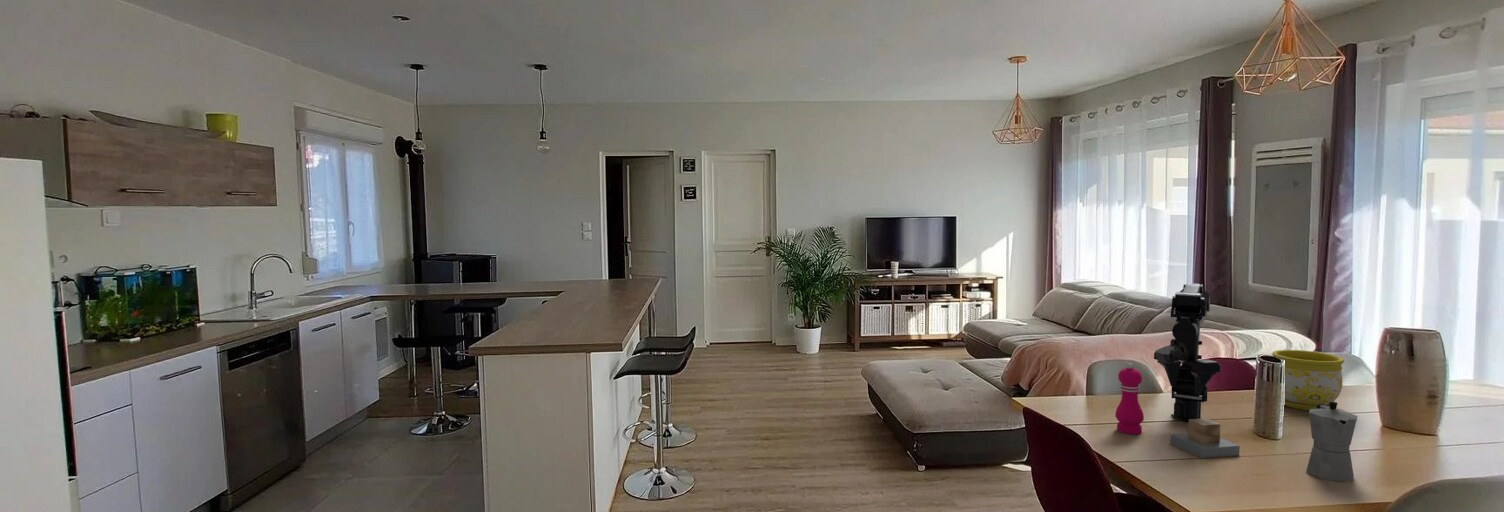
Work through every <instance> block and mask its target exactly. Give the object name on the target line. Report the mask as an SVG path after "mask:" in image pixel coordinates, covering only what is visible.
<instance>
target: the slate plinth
mask: <svg viewBox="0 0 1504 512" xmlns="http://www.w3.org/2000/svg"><path fill="white" fill-rule="evenodd" d="M1169 439H1170V440H1169V444H1170V445H1172V446H1175V447H1176V448H1179V449H1181V450H1183V451H1184V452H1188V453H1190V454H1191V455H1194V456H1197V457H1199V458H1201V459H1205V458H1206V459H1207V458H1219V457H1221V458H1222V457H1230V456H1231V457H1232V456H1233V457H1234V456H1240V451H1241V450H1240V448H1241V447H1240V445H1239V444H1236V443H1233V442H1232V441H1229V440H1226V439H1223V438H1221V437H1220V443H1207V444H1202V443H1200V442H1197V441H1195V440H1193V439H1190V438H1188V433H1176V434H1170V435H1169Z"/></svg>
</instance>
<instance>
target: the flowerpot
mask: <svg viewBox="0 0 1504 512" xmlns="http://www.w3.org/2000/svg"><path fill="white" fill-rule="evenodd" d="M1271 354H1272V357H1273V356H1274V357H1278V358H1282V359H1284V360H1285V405H1284V406H1285V407H1289V408H1293V409H1297V410H1302V411H1310V409H1316V407H1317V405H1318V404H1324V405H1325V406H1328V407H1329V409H1330V404H1329V402H1332V401H1333V402H1336V400H1337V399H1338V397H1339V396H1340V394H1341V393H1342V389H1343V373H1342V369H1343V367H1342V365H1343V364H1344V363H1345V359H1344V358H1343V357H1341V356H1338V355H1336V354H1331V353H1325V352H1320V351H1313V350H1312V351H1310V350H1299V349H1281V350H1275V351H1272V353H1271ZM1274 357H1273V358H1274Z"/></svg>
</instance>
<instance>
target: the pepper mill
mask: <svg viewBox="0 0 1504 512" xmlns="http://www.w3.org/2000/svg"><path fill="white" fill-rule="evenodd" d="M1134 366H1135V365H1134V364H1133V363H1131V362H1129V363H1126V367H1125V368H1122V369H1120V371H1119V373H1118V375H1117V377H1118V381H1119V382H1120V385H1119V386H1120V387H1119V389H1120V390H1121V399H1120V401H1119V404H1118V406H1117V407H1116V410H1115V418H1116V421H1118V422H1117V423H1116V430H1117V431H1118V432H1120V433H1123V434H1128V435H1139V434H1141V433H1142V432H1143V431H1142V428H1143V427H1142V425H1141V423H1143V422H1144V418H1145V417H1144V415H1145V414H1144V412H1143V411H1144V410H1143V409H1142V407H1141V405H1140V403H1139V397H1138V396H1139V392H1140V391H1141V389H1140V384H1141V383H1142V381H1143V376H1142V373H1141V372H1140V371H1139V369H1136V368H1134Z"/></svg>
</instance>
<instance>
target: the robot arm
mask: <svg viewBox="0 0 1504 512" xmlns="http://www.w3.org/2000/svg"><path fill="white" fill-rule="evenodd" d="M1182 287H1183V288H1182V289H1181V290H1180V291H1177V292H1175V294H1174V295H1173V296H1172V298H1171V306H1170V307H1171V308H1170V318H1176V319H1175V324H1174V325H1173V326H1172V330H1171V332H1172V333H1171V334H1172V336H1173V338H1171V340H1170V344H1169V345H1165V346H1163V347H1161V348H1158V349H1156V350H1155V351H1154V352H1153V359H1154V360H1155V361H1156V362H1157V363H1158V364H1160V365H1161V366H1162V367H1163V368H1164V370H1165V372H1166V376H1167V378H1168V383H1169V385H1170V387H1171V399H1174V403H1173V413H1172V414H1170V417H1172V418H1175V419H1177V420H1179V421H1183V422H1184V423H1189V419H1203V417H1202V416H1201V413H1202V403H1206V402H1207V401H1208V387H1207V386H1206V385H1207V384H1208V382H1209V381H1210V380H1211V378H1213V376H1214V375H1217V373H1221V370H1222V368H1221V366H1222V365H1221V364H1220V363H1219V362H1218V361H1215V360H1211V359H1202V358H1203V355H1201V354H1199V348H1200V346H1202V345H1203V341H1202V340H1200V336H1201V335H1200V333H1201V325H1202V324H1203V323H1204V321H1205V320H1206V319H1207V318H1208V312H1210V310H1211V295H1210V293H1209V292H1207V291H1206V290H1205V289H1204V286H1203V284H1201V283H1188V282H1187V283H1184V284H1183V286H1182Z"/></svg>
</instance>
